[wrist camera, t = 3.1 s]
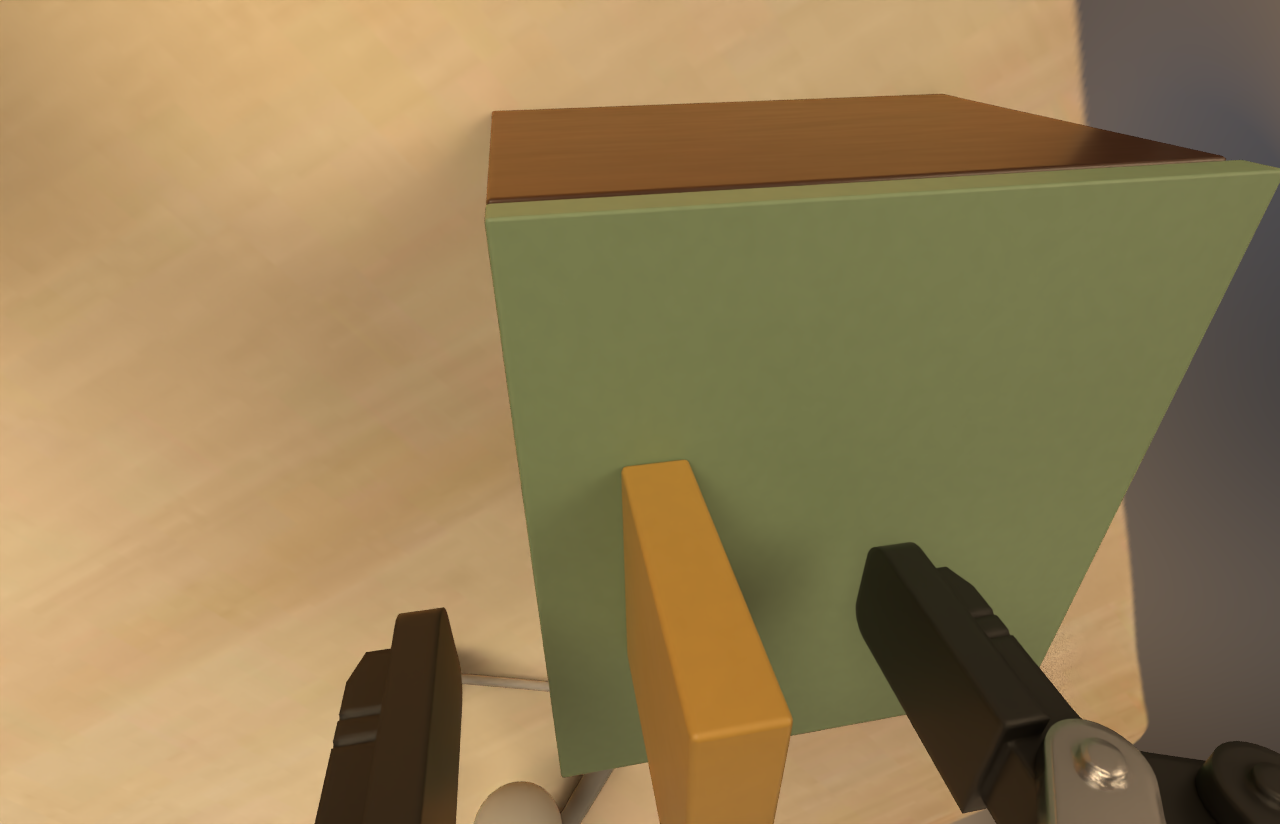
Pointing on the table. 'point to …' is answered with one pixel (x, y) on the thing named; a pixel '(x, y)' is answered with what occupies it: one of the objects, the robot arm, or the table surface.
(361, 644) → the table surface
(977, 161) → the box
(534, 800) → the newton's cradle
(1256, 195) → the lid
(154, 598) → the table surface
